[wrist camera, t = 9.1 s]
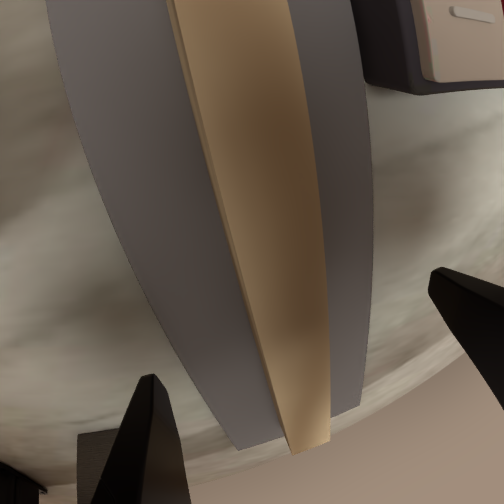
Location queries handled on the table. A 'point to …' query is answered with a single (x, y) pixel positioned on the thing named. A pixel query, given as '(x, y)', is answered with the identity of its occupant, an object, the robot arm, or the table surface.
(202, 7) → the beech rail
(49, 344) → the table surface
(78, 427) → the table surface
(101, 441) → the bracket
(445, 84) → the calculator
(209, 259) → the rubber mat
